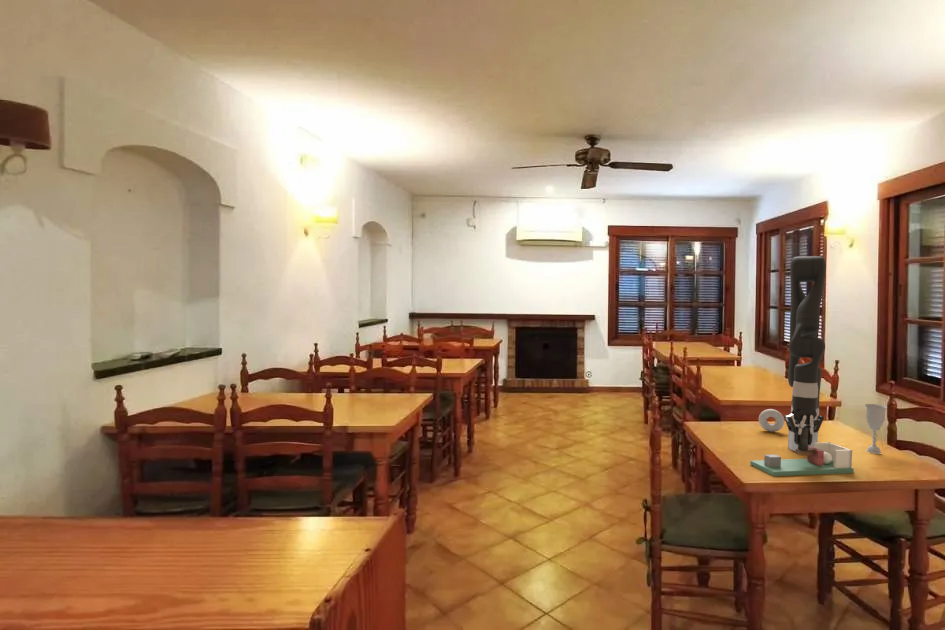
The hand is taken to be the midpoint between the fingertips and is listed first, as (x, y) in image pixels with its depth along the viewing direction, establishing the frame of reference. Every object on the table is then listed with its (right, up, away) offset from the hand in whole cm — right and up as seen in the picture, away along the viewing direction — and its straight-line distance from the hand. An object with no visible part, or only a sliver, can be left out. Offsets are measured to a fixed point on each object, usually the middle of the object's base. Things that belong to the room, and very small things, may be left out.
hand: (802, 444), depth 195 cm
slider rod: (+2, -7, +1) cm, 7 cm away
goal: (+11, -7, +2) cm, 14 cm away
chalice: (+40, -8, +22) cm, 46 cm away
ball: (+9, -5, +2) cm, 10 cm away
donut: (+16, -7, +51) cm, 54 cm away
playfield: (0, -9, 0) cm, 9 cm away
